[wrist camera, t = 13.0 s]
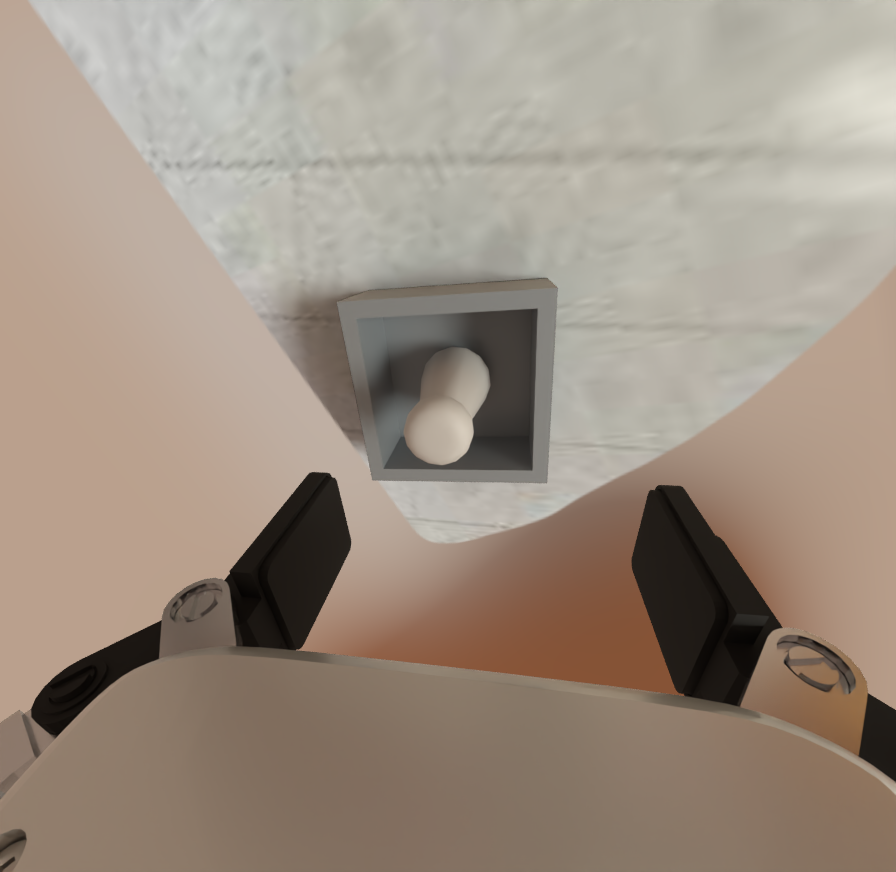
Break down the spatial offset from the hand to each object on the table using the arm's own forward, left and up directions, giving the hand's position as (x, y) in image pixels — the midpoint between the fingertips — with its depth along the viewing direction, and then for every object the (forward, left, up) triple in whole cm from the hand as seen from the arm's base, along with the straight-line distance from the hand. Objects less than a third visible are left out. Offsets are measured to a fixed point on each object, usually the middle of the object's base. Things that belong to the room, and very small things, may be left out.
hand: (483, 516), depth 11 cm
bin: (+3, -4, -24) cm, 25 cm away
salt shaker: (+3, -4, -23) cm, 24 cm away
